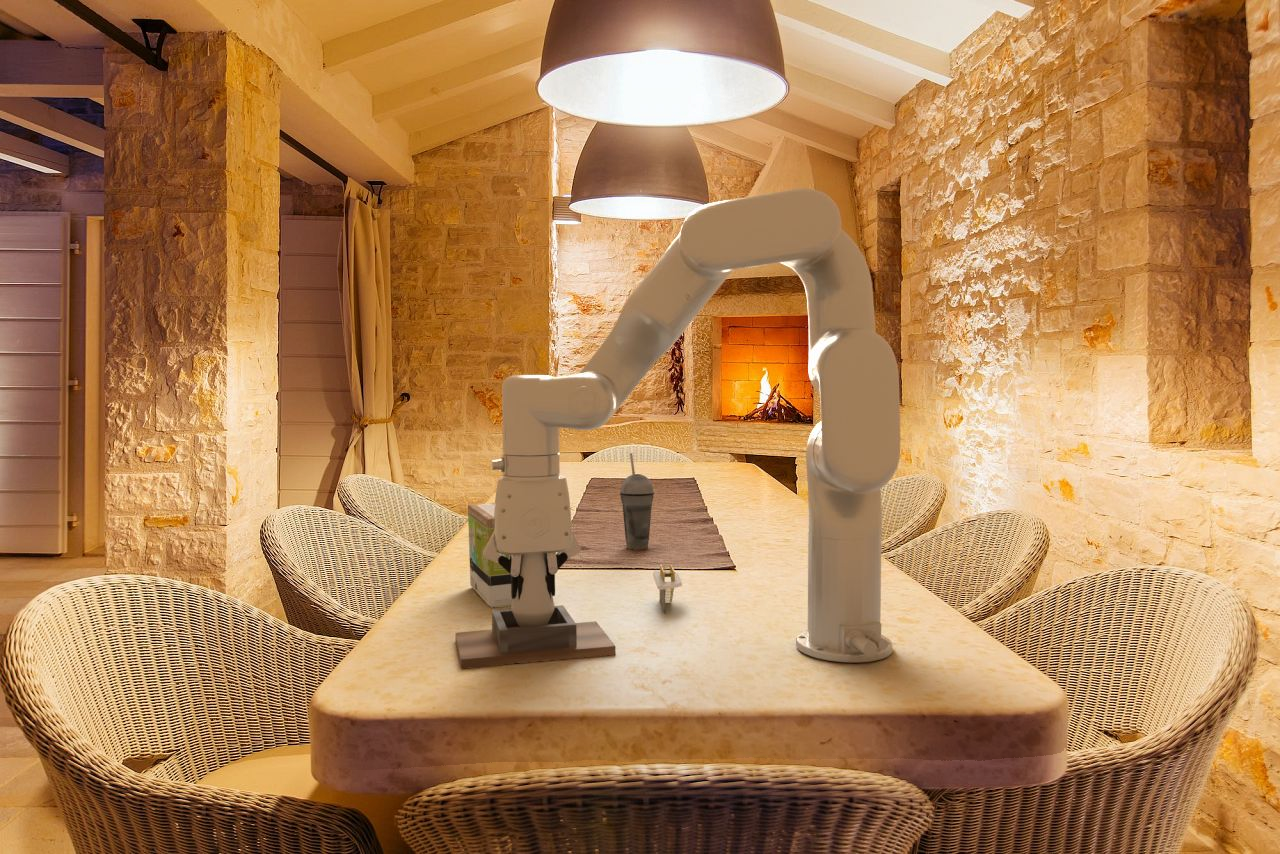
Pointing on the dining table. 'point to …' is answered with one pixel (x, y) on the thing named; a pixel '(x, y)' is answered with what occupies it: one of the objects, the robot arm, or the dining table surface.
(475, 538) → the tea box
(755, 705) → the dining table surface
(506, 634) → the stand
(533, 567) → the salt shaker
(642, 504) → the beverage cup
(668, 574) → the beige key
